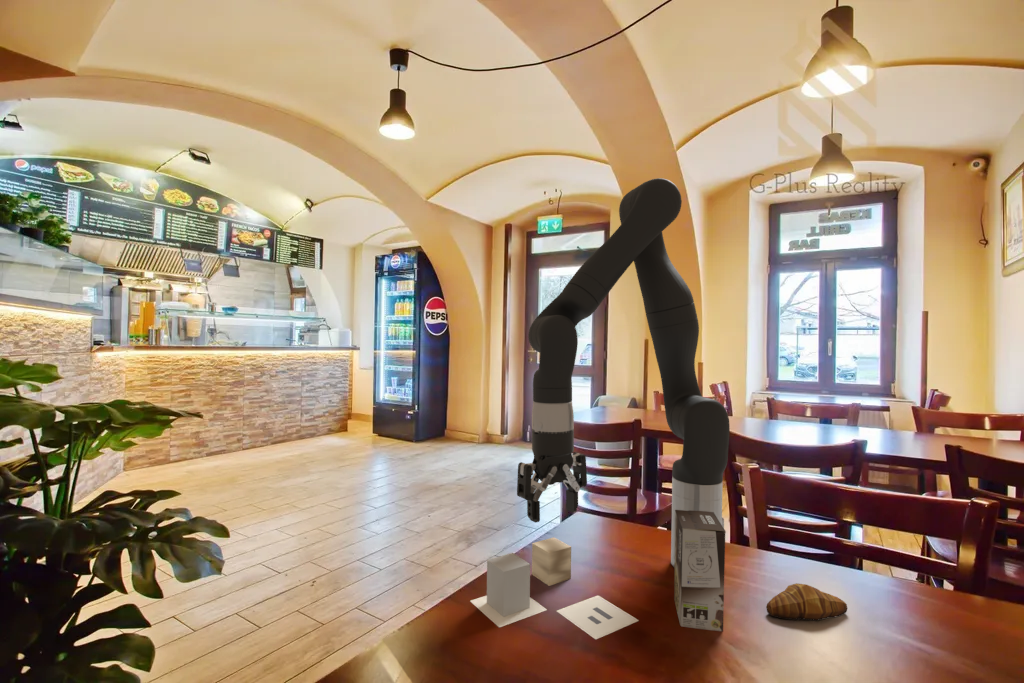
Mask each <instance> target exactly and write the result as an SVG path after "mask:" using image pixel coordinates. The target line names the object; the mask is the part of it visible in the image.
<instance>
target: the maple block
mask: <svg viewBox="0 0 1024 683" xmlns="http://www.w3.org/2000/svg"><path fill="white" fill-rule="evenodd" d="M531 544H532V545H531V546H532V547H531V549H532V550H531V551H532V552H531V575H532V576H533V577H535V578H537V579H538V580H539V581H540V582H542V583H543V584H545V585H547V586H548V587H550V586H553V585H556V584H559V583H562V582H565V581H568V580H571V579H572V546H571V545H569V544H567V543H565V542H563V541H562V540H560V539H558V538H556V537H554V536H553V537H550V538H547V539H546V538H545V539H543V540H538V541H536V542H532V543H531Z"/></svg>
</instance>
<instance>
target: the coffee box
mask: <svg viewBox="0 0 1024 683" xmlns="http://www.w3.org/2000/svg"><path fill="white" fill-rule="evenodd" d="M726 533H727V531H726V529H725V527H724V528H723V526H722V525H721V523H720V522H719V520H718V518H717V517H716V515H715V514H714V512H708V511H690V510H689V511H684V510H675V559H674V567H673V568H674V569H673V570H674V571H673V572H674V574H673V576H674V578H673V579H674V581H673V583H674V584H673V586H674V587H673V589H674V591H673V592H674V594H673V599H674V604H675V608H676V613H677V617H678V621H679V625H680V627H684V628H690V629H697V630H707V631H716V632H723V631H724V615H725V613H724V609H725V608H724V606H725V601H724V600H725V569H726V568H725V564H726V563H725V562H726V558H725V557H726Z"/></svg>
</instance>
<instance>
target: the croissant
mask: <svg viewBox="0 0 1024 683" xmlns="http://www.w3.org/2000/svg"><path fill="white" fill-rule="evenodd" d="M766 612H767V613H768V615H770V616H771V617H774V618H775V617H776V618H778V619H786V620H804V621H815V622H817V621H821V620H825V619H828V618H829V619H830V618H837V617H841V616H843V615H844V614H846V613H847V612H848V604H847V602H846V601H844V600H842V599H841V598H840V597H838V596H835V595H832V594H831V593H826V592H825V591H821V590H820V589H818V588H816V587H814V586H812V585H809V584H806V583H805V584H804V583H793V584H790V585H788V586H787V587H786V588H785V590H783V591H780V592H779V593H777V595H775V596H773V597H772V598H771V599H770V600H769V601H768V602H767V604H766Z"/></svg>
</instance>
